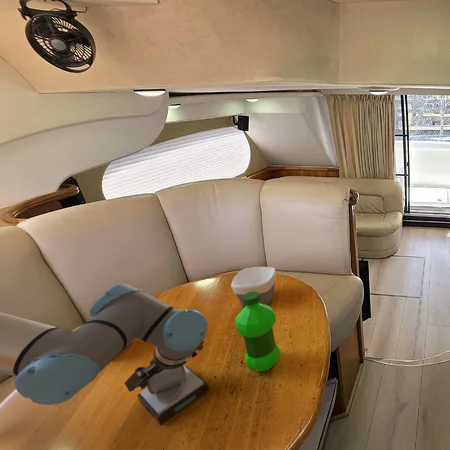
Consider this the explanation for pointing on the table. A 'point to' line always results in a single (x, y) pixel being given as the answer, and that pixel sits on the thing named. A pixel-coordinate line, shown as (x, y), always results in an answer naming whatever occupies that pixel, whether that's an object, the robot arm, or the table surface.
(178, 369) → the ceramic mug
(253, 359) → the plastic bottle
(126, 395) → the table surface
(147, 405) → the scale
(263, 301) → the bowl
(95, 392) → the table surface
